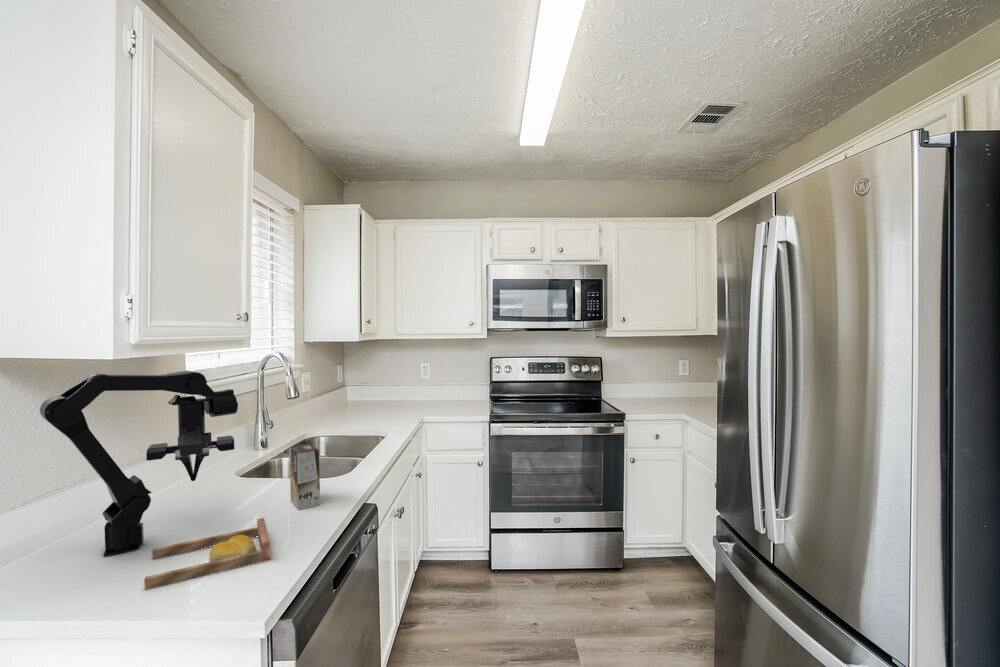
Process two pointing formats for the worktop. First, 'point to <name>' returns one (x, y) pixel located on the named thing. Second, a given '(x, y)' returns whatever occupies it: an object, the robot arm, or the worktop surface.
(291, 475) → the coffee box
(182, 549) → the guide channel
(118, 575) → the worktop surface
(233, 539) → the bread roll
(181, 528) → the worktop surface
